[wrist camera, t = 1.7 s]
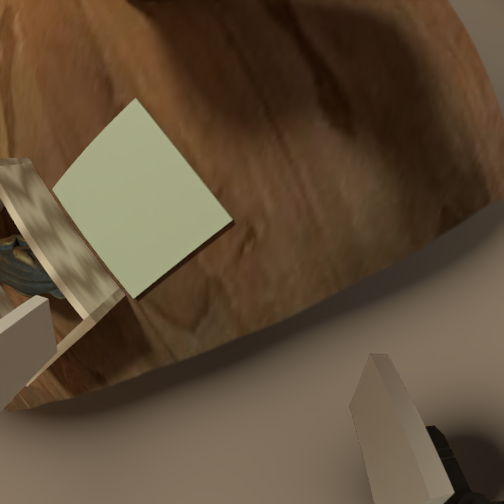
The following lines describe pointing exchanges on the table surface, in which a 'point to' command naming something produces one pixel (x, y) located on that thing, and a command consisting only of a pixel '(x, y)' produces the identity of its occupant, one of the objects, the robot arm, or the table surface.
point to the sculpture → (24, 269)
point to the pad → (139, 200)
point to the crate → (55, 250)
